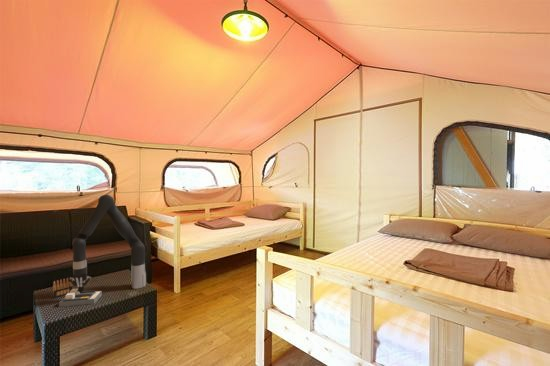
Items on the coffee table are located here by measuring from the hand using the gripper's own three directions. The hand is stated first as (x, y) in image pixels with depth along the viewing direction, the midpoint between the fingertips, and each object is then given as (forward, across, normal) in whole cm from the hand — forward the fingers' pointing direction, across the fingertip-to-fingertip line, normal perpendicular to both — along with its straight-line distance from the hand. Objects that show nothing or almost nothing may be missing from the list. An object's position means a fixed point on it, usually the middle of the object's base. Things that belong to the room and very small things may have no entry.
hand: (81, 291), depth 176 cm
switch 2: (+2, +4, 0) cm, 4 cm away
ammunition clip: (+5, +15, -8) cm, 18 cm away
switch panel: (+5, -1, +3) cm, 6 cm away
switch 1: (+2, +4, +6) cm, 7 cm away
